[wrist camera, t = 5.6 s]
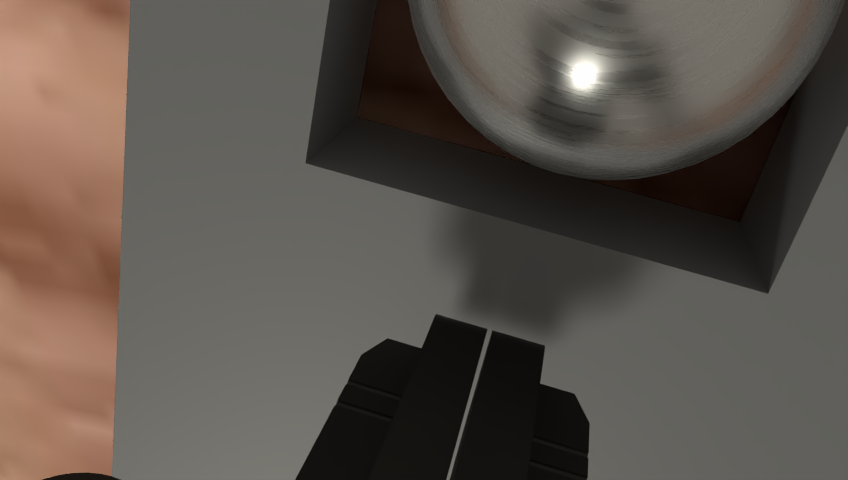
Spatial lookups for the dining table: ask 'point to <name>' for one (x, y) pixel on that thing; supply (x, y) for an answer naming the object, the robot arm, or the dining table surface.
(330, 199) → the hole board
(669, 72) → the steel ball
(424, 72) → the dining table surface
